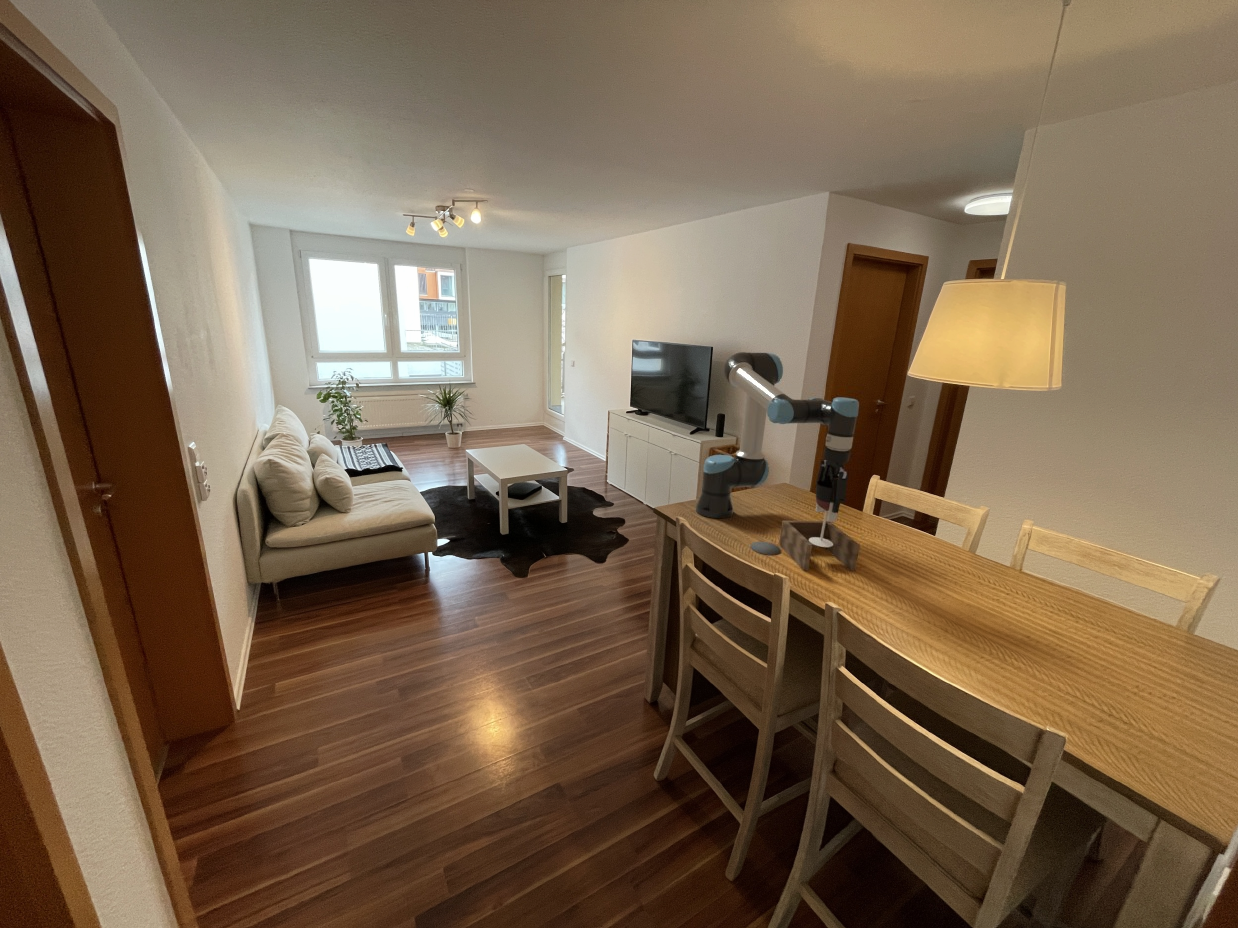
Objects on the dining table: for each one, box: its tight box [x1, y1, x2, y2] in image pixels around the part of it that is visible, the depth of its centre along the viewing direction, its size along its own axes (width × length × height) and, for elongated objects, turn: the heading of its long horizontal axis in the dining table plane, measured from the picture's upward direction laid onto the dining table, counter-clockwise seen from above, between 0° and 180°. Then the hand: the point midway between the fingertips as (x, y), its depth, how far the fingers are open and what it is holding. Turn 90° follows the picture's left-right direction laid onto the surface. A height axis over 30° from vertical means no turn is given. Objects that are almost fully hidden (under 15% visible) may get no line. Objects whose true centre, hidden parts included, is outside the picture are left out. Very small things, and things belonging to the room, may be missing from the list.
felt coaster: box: [750, 541, 782, 556], centre depth 171 cm, size 10×10×1 cm
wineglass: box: [809, 481, 833, 548], centre depth 160 cm, size 8×9×20 cm
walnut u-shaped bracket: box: [778, 520, 861, 572], centre depth 165 cm, size 20×17×9 cm
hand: (825, 516), depth 160 cm, fingers closed on wineglass, 7 cm apart
